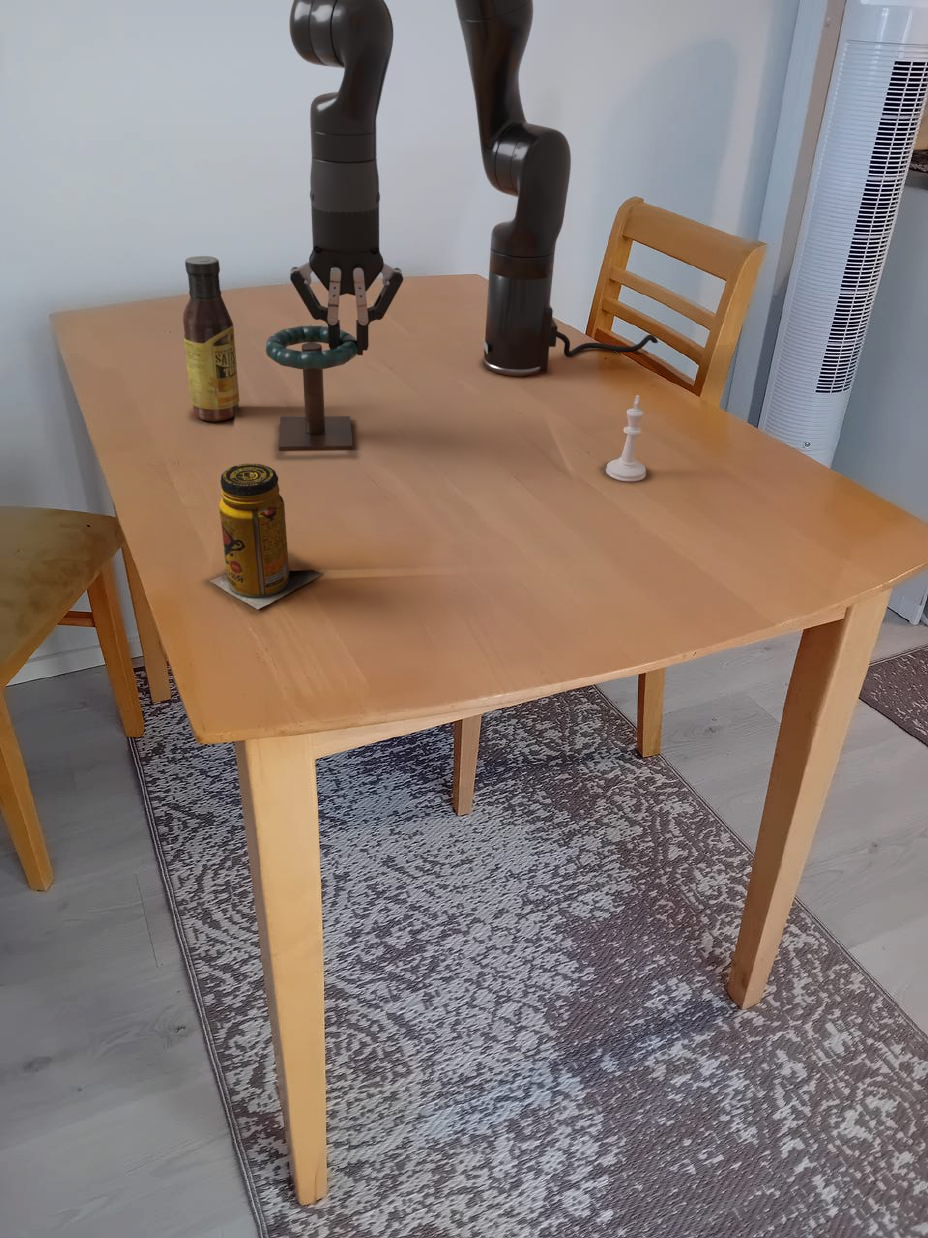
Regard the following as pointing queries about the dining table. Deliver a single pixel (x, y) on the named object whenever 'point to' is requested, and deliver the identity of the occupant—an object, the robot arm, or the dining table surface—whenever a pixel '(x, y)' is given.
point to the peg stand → (314, 418)
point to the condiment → (256, 537)
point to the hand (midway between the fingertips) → (348, 352)
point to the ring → (310, 359)
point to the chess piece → (629, 450)
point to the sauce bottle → (209, 344)
